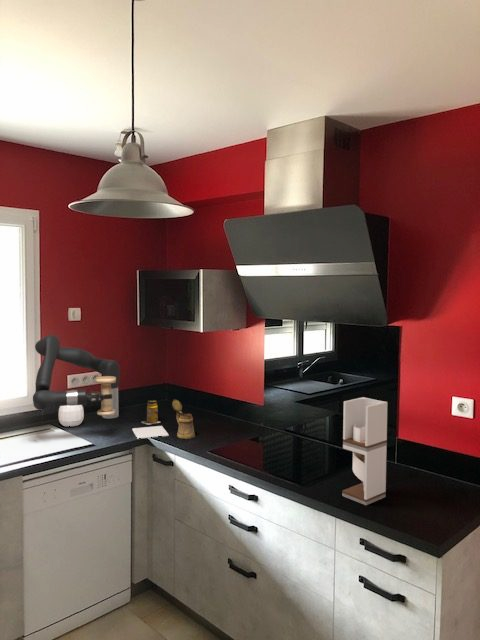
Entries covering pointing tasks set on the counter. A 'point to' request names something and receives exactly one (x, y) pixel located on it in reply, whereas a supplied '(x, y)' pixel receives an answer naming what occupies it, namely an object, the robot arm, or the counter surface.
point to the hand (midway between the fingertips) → (111, 395)
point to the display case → (366, 447)
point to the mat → (149, 432)
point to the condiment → (152, 412)
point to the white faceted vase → (71, 415)
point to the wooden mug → (183, 422)
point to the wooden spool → (105, 389)
